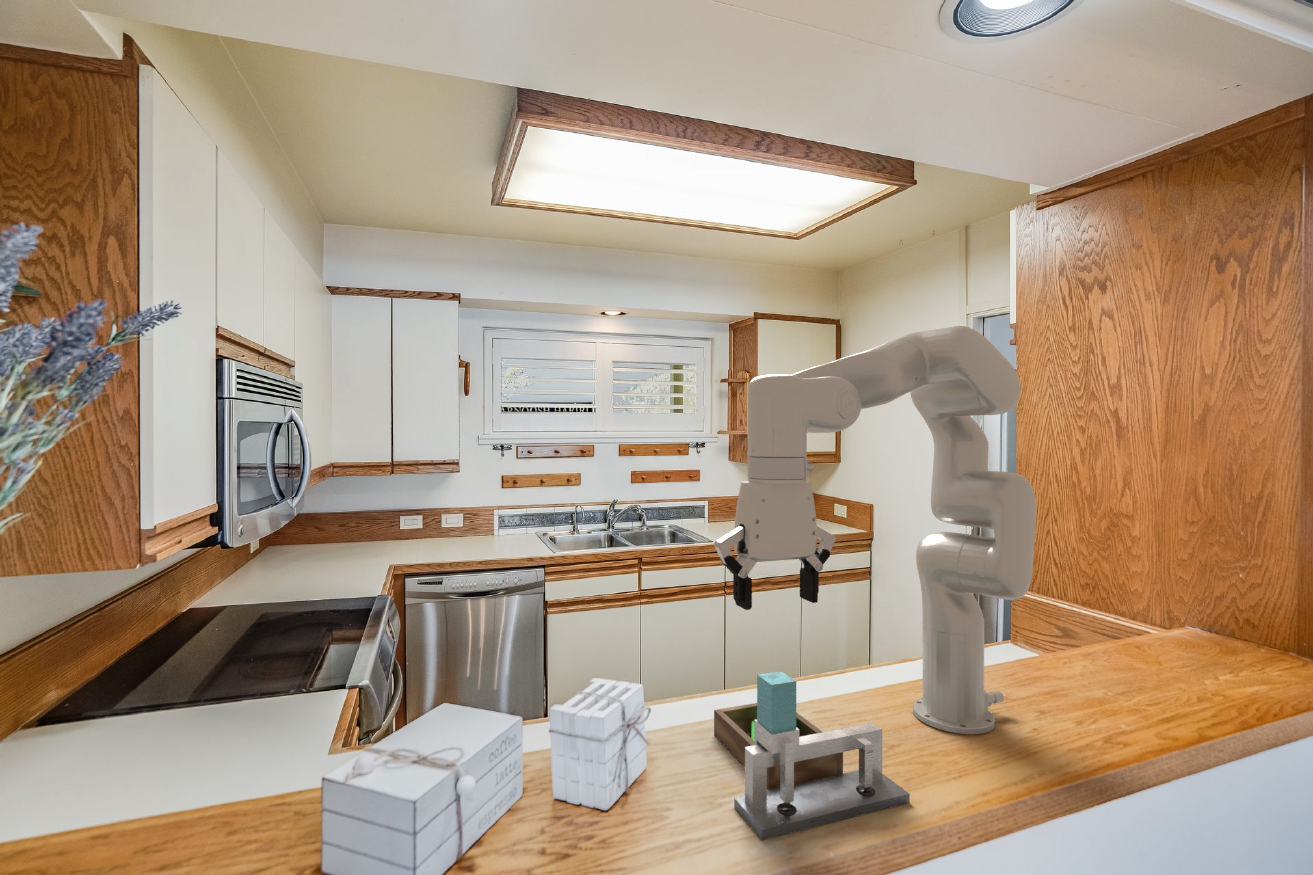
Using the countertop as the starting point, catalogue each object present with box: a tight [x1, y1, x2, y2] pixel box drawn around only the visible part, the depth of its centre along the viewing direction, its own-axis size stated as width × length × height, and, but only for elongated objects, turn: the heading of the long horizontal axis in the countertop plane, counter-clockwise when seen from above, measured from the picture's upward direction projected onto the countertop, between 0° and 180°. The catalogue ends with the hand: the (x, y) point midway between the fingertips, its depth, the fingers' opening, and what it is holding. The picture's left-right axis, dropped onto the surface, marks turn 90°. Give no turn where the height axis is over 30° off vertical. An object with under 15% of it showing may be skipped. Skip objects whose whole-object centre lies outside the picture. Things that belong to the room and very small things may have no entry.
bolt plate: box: [733, 769, 911, 841], centre depth 80 cm, size 22×7×1 cm, turn 110°
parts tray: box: [713, 702, 844, 790], centre depth 93 cm, size 12×17×4 cm
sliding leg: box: [754, 670, 799, 806], centre depth 78 cm, size 4×5×15 cm
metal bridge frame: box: [744, 722, 883, 809], centre depth 80 cm, size 20×4×8 cm, turn 110°
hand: (776, 603), depth 79 cm, fingers open, 9 cm apart
